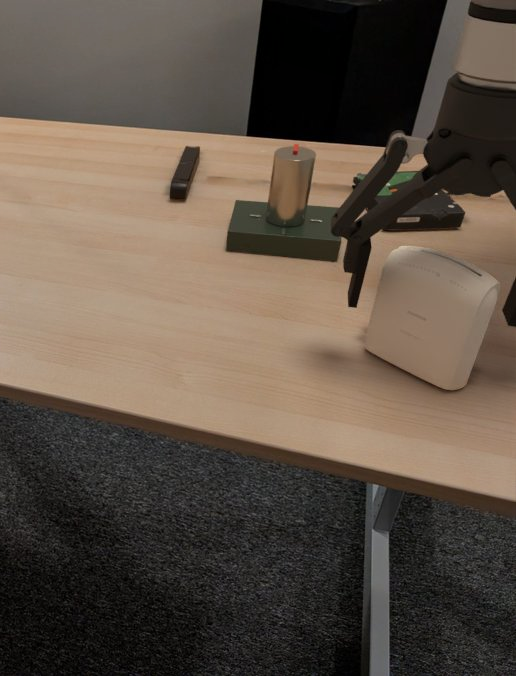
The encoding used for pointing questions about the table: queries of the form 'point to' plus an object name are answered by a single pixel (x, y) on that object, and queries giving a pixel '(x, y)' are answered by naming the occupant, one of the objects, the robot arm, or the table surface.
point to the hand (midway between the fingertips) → (428, 309)
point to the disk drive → (419, 207)
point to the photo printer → (431, 314)
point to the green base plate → (282, 233)
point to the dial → (290, 185)
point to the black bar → (185, 173)
